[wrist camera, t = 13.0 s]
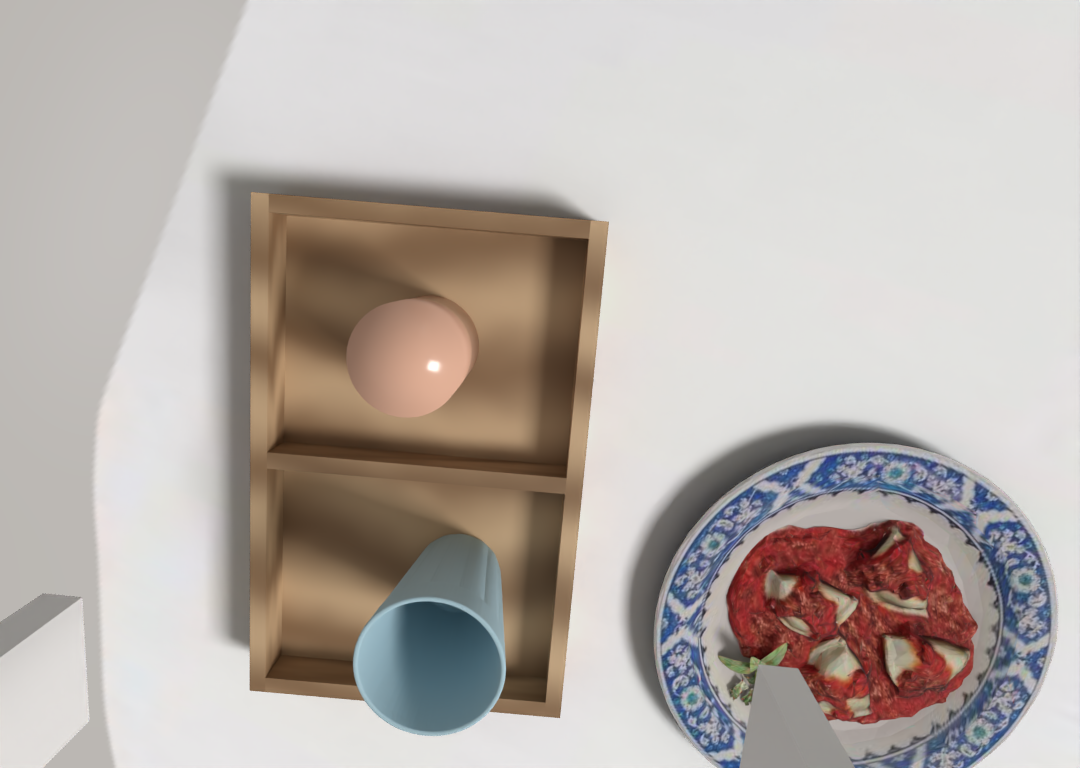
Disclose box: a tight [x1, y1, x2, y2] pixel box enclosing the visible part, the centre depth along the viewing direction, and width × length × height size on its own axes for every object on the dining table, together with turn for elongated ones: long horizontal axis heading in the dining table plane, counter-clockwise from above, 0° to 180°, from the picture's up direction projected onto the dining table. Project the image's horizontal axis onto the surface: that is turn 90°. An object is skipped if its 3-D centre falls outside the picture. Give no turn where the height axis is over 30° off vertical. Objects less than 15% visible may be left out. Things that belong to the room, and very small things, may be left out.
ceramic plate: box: [654, 443, 1058, 768], centre depth 43 cm, size 26×26×3 cm
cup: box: [353, 534, 506, 736], centre depth 38 cm, size 8×8×10 cm
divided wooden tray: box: [250, 192, 609, 718], centre depth 41 cm, size 31×20×4 cm, turn 175°
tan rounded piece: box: [346, 295, 479, 418], centre depth 37 cm, size 6×6×7 cm
